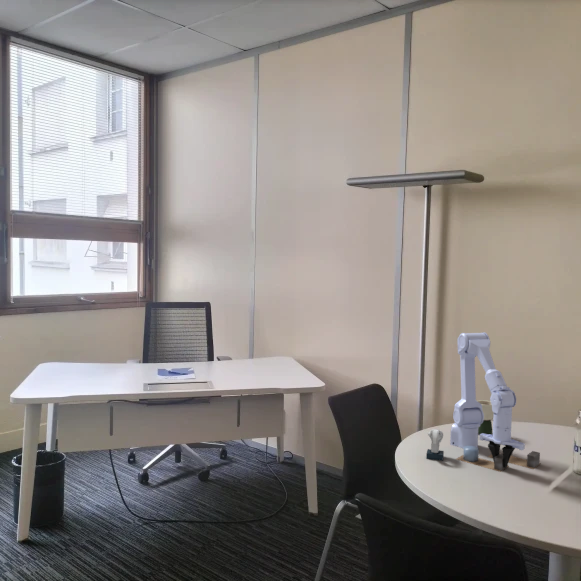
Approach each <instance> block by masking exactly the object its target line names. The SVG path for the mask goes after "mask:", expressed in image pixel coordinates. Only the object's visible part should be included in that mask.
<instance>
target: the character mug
mask: <svg viewBox="0 0 581 581" xmlns="http://www.w3.org/2000/svg"><path fill="white" fill-rule="evenodd" d="M477 401H478V402H479V403H480V404H481V405H482V410H483V413H484V420H483V423H482V424H480V427H478V435H480V434H482V433H484V434H490V435H493V415H494V412H493V411H492V404H491V401H490V400H484V399H483V400H477ZM472 408H474V407H472Z"/></svg>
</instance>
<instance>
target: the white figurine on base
mask: <svg viewBox="0 0 581 581" xmlns="http://www.w3.org/2000/svg"><path fill="white" fill-rule="evenodd" d="M427 436H428V437H429V438H430V441H431V445H430V447H431V448H430V449H429V448H427V449H426V453H425V454H426V457H425V458H426V460H434V461H435V460H436V461H441V462H443V460H444V457H445V456H444V453H445V452H444V450H441V449H440V444H441V442H442V440H443V438H444V433H443V431H442V430H440V429H437V428H432V429H430V430H429V432H428V433H427Z"/></svg>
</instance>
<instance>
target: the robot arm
mask: <svg viewBox="0 0 581 581" xmlns="http://www.w3.org/2000/svg"><path fill="white" fill-rule="evenodd" d="M456 341H457V354H458V355H459V359H460V361H459V362H460V391H461V392H460V393H461V397H460V398H461V399H460V400H458V401H457V402H456V403H455V404H454V406H453V407H454V410H453V414H452V416H453V417H452V418H453V421H454V422H453V423H452V425H451V429H450V442H449V444H450V445H451V446H455V447H459V448H460V449H463V450H464V447H465V446H474V447H477V448H478V449H479V447H478V446H479V441H485V442H488V444H487V447H488V449H489V452H490V455H491V454H492V457H493V458H492V460H493V461H494V459H495V457H496V456H497V455H499V453H500V451H502V454H503V467H504V468H506V467H507V466H509V463H508V462H509V459H510V456H512V454H513V452H514V450H515V449H517V450H519V451H524V450H525V446H526V444H525V442H521V441H519V440H516V439H514V438H512V422H513V421H512V419H513V408H514V407H516V404H517V395H516V393H515V392H514V390H513V389H512V388H510V387H509V386H507V383H506V381H505V379H504V376H503V374H502V372H501V371H500V370H498V369H497V367H496V366H495V362H494V360H493V356H492V354H491V350H490V348H491V340H490V337H489V334H487V332H461V333H460V334H459V336H458V337H457V340H456ZM476 357H477V359H478V360H479V363H480V365H481V366H482V369H483V370H484V372H485V375H484V379H485V382H486V384H487V388H488V390H489V393H490V394H491V395H490V397H489V401H491V404H492V411H493V412H494V415H493V419H492V434H484V433H482V434H479V433H478V427H480V424H482V423H483V420H484V413H483V410H482V405H481V404H480V403H479V402H478V401H479V400H477V394H476V393H477V391H476V388H477V387H476V386H477V385H476V363H475V362H476V360H475V359H476ZM472 407H474V408H472ZM501 445H502V446H503V447H502V448H501ZM500 449H501V450H500ZM507 468H508V467H507ZM507 468H506V469H507Z"/></svg>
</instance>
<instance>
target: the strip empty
mask: <svg viewBox="0 0 581 581" xmlns="http://www.w3.org/2000/svg"><path fill="white" fill-rule="evenodd" d="M500 453H501V452H499V454H500ZM540 457H541V452H538V451H534V450H532V451H531V452H529V453H527V455H526V459H525V458H522V457H517V456H514V455H511V456H510V459H509V462H508V464H512V465H516V466H520V467H523V468H528V469H529V470H530V469H531V470H534V469H536V468H537V467H538V466H540V465H541V464H542V463H540V462H541V458H540ZM487 458H490V459H493V457H492V454H491V453H490V454H489V455H488V456H487Z"/></svg>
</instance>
